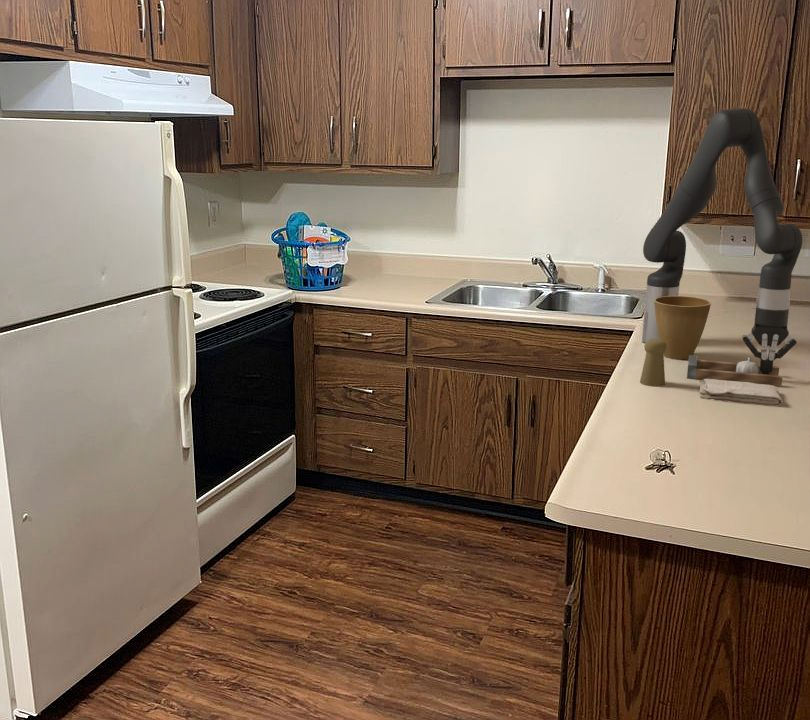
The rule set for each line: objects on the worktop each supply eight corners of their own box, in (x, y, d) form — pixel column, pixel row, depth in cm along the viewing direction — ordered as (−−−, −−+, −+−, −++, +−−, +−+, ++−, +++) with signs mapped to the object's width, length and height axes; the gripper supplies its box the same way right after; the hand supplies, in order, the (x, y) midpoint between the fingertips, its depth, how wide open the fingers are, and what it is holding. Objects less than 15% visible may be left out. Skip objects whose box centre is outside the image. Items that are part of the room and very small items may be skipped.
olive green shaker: (634, 380, 205) (638, 338, 202) (654, 378, 207) (658, 336, 204) (649, 387, 200) (653, 343, 197) (670, 385, 202) (674, 341, 199)
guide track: (686, 378, 207) (688, 365, 207) (687, 367, 218) (688, 354, 217) (781, 387, 200) (783, 373, 199) (777, 375, 211) (779, 362, 210)
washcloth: (698, 387, 202) (699, 375, 201) (777, 394, 196) (778, 382, 195) (698, 401, 191) (700, 388, 190) (782, 409, 185) (784, 396, 184)
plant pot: (649, 348, 238) (653, 294, 234) (703, 352, 234) (708, 297, 230) (650, 361, 224) (655, 303, 220) (707, 365, 220) (713, 306, 216)
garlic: (741, 374, 212) (743, 354, 210) (762, 378, 208) (764, 358, 207) (730, 378, 208) (732, 358, 206) (751, 382, 204) (753, 362, 203)
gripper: (744, 307, 201) (738, 375, 205) (803, 310, 196) (795, 379, 201) (743, 302, 208) (736, 368, 212) (800, 304, 203) (792, 372, 208)
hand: (765, 373), depth 206 cm, fingers closed
